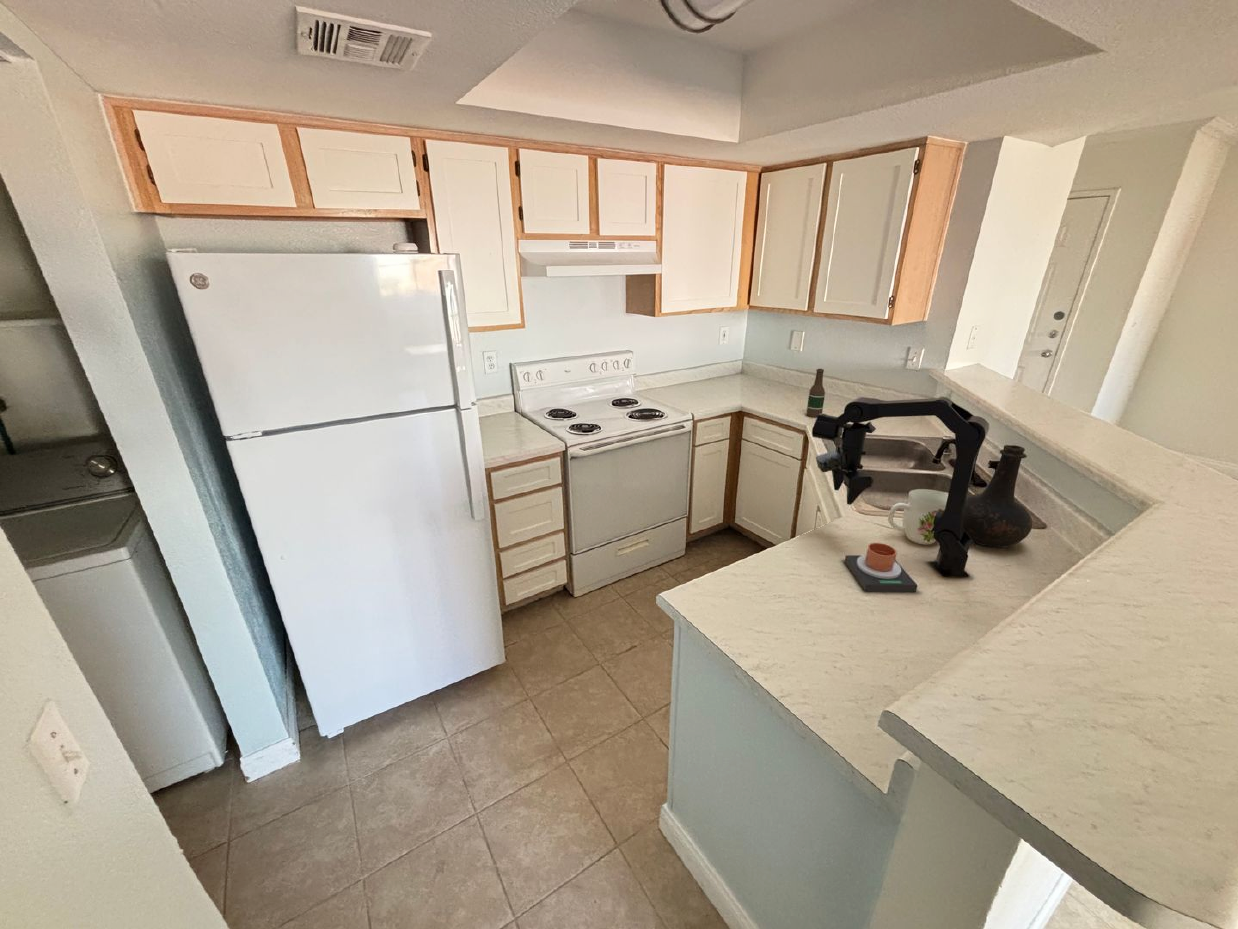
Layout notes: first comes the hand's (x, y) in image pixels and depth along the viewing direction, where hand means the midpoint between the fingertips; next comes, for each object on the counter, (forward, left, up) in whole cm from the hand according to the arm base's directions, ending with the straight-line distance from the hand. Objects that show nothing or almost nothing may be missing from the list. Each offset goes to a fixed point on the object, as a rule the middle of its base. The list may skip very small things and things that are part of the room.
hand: (842, 497), depth 141 cm
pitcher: (-2, -22, -12) cm, 25 cm away
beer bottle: (+123, -33, -12) cm, 128 cm away
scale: (-21, -3, -12) cm, 24 cm away
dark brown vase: (-2, -41, -12) cm, 43 cm away
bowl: (-20, -3, -9) cm, 22 cm away
